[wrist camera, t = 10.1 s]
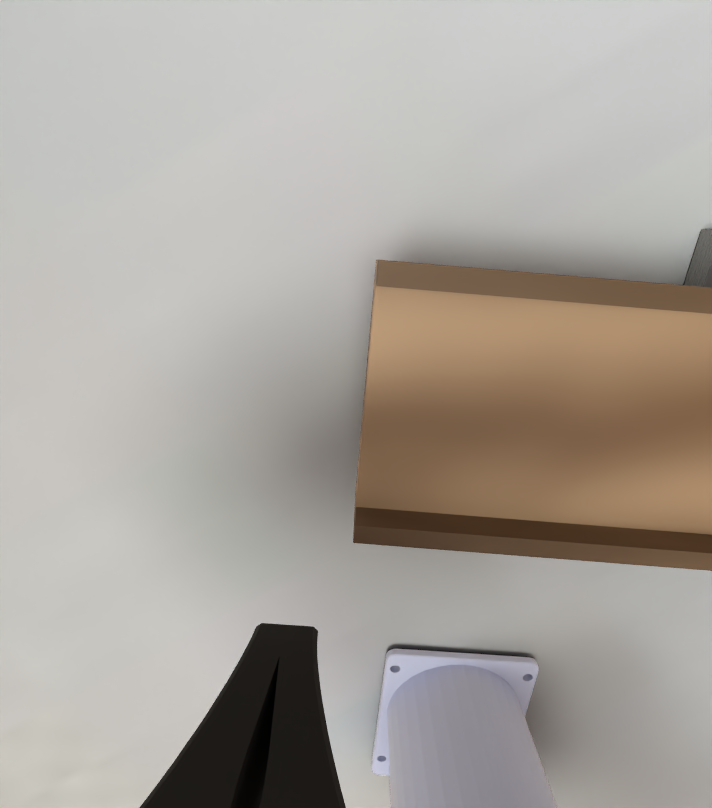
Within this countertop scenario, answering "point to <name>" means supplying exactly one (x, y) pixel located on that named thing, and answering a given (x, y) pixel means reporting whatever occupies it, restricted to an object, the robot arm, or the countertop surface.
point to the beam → (537, 416)
